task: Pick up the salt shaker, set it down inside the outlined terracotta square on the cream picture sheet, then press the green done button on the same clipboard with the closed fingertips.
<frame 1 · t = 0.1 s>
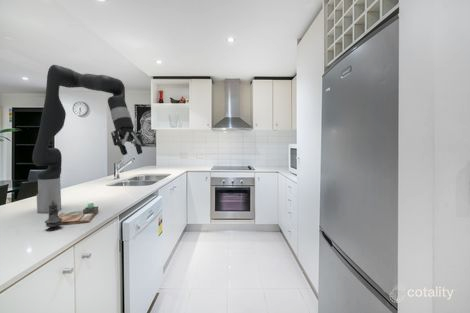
hand: (132, 154, 101), 31 cm above the countertop, tool tilted 20°, fingers open, 8 cm apart
picture board: (75, 218, 111), on the countertop
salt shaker: (54, 229, 97), on the countertop
done button: (90, 206, 117), point 4 cm above the countertop, slide at 0.0 cm
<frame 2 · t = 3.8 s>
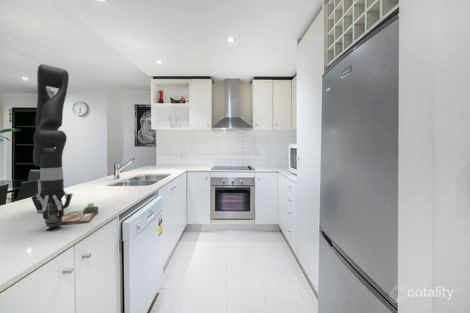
hand: (53, 218, 97), 4 cm above the countertop, tool pointing down, fingers closed on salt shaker, 4 cm apart
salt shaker: (54, 229, 97), on the countertop, touching gripper
everything else where it was.
when the fingers open (7 cm above the countertop, at t = 8.4 s): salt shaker drops 1 cm, resting on picture board.
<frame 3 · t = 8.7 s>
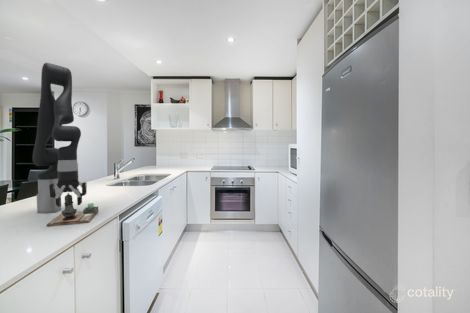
hand: (69, 205, 106), 7 cm above the countertop, tool pointing down, fingers open, 7 cm apart
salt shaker: (69, 218, 106), point 1 cm above the countertop, touching picture board
everything else where it was.
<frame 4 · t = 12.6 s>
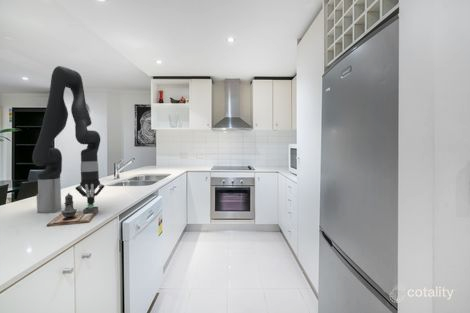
hand: (91, 204, 117), 5 cm above the countertop, tool pointing down, fingers closed
done button: (90, 207, 117), point 4 cm above the countertop, slide at -0.1 cm, touching gripper
everything else where it was.
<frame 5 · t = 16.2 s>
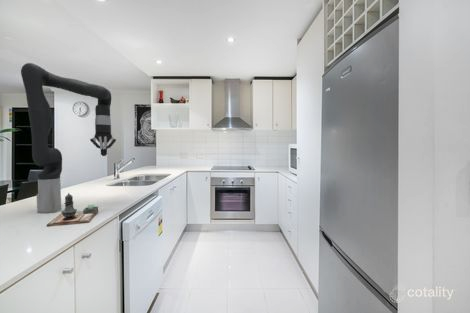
hand: (103, 155, 127), 29 cm above the countertop, tool pointing down, fingers closed
done button: (90, 208, 117), point 3 cm above the countertop, slide at -0.8 cm
everything else where it was.
at the end: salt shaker 0.0 cm from the target spot on the picture board, point 1.0 cm above the picture board's base; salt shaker tilted 0°; done button slide at -0.8 cm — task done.
